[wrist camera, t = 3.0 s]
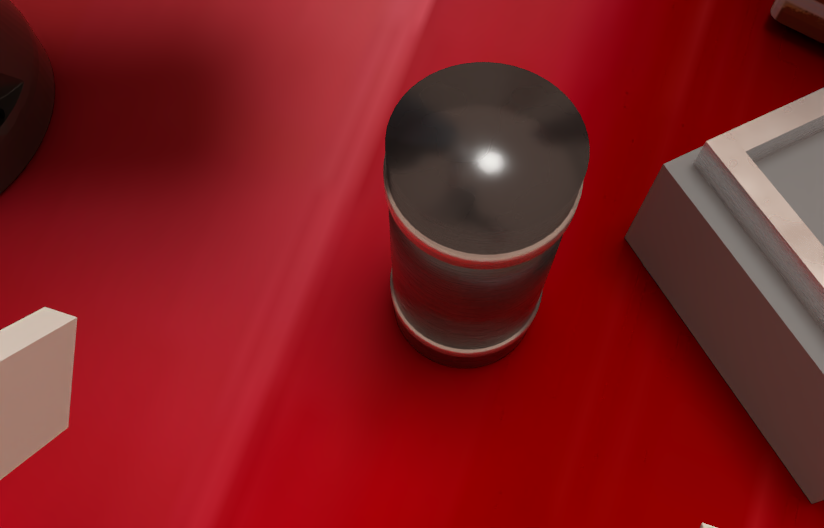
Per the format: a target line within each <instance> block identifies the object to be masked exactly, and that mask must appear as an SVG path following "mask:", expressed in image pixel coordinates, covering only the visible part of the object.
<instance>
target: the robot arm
mask: <svg viewBox="0 0 824 528" xmlns="http://www.w3.org/2000/svg"><path fill="white" fill-rule="evenodd" d="M54 96H55V84H54V76H53V71H52V67H51V64H50V61H49V58H48V56H47V54H46V52H45V50H44V48H43V46H42V45H41V43H40V42H39V40H38V38H37V37H36V35H35V34H34V32H33V30H32V29H31V27H30V26H29V24H28V23H27V21H26V19H25V18H24V17H23V15H22V14H21V13H20V11H19V10H18V9H17V8H16V7H15V6H14V5H13V4H12V3H11V1H10V0H0V194H1V193H2V192H3V191H4V190H5V189H6V188H7V187H8V186H9V185H10V184H11V183H12V182H13V181H14V180H15V179H16V178H17V176H18V175H19V174H20V173H21V172H22V171H23V169H24V168H25V167H26V165H27V164H28V163H29V161H30V160H31V158H32V157H33V155H34V154H35V152H36V151H37V149H38V147H39V145H40V143H41V142H42V140H43V137H44V135H45V133H46V130H47V128H48V125H49V122H50V119H51V115H52V111H53V105H54ZM76 326H77V317H75V316H72V315H68V314H65V313H62V312H59V311H56V310H53V309H50V308H47V307H44V308H42V309H40V310H38V311H36V312H34V313H32V314H30V315H28V316H26V317H24V318H23V319H21V320H19V321H17V322H15V323H13V324H11V325H9V326H7V327H5V328H3V329H1V330H0V480H1V479H2V478H3V477H5V476H6V475H7V474H9V473H10V472H11V471H12V470H14V469H15V468H16V467H18V466H19V465H20V464H22V463H23V462H24V461H25V460H27V459H28V458H29V457H31V456H32V455H33V454H34V453H36V452H37V451H38V450H40V449H41V448H42V447H44V446H45V445H46V444H47V443H49V442H50V441H51V440H53V439H54V438H55V437H56V436H58V435H59V434H60V433H62V432H63V431H64V430H66V429H67V428H68V422H69V410H70V398H71V386H72V374H73V362H74V350H75V338H76ZM700 528H717V527H714V526H711V525H708V524H705V523H702V524H701V526H700Z"/></svg>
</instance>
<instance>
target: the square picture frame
mask: <svg viewBox="0 0 824 528" xmlns="http://www.w3.org/2000/svg"><path fill="white" fill-rule="evenodd" d="M823 130H824V88H822V89H820V90H818V91H816V92H813V93H811V94H809V95H807V96H805V97H802V98H800V99H798V100H796V101H794V102H791V103H789V104H787V105H785V106H783V107H780V108H778V109H776V110H774V111H772V112H770V113H767V114H765V115H763V116H761V117H759V118H756V119H754V120H752V121H750V122H748V123H745V124H743V125H741V126H739V127H737V128H734V129H732V130H730V131H728V132H726V133H723V134H721V135H719V136H717V137H715V138H712V139H710V140H708V141H706V142H705V144H704V146H703V148H702V149H701V151H700V153H699V154H698V156H697V158H696V159H695V161H694V163H693V165H694V166H695V168H696V169H697V170H698V172H699V173H700V174H701V175H702V177H703V178H704V179H705V181H706V182H707V183H708V184H709V186H710V187H711V188H712V189H713V191H714V192H715V193H716V195H717V196H718V197H719V198H720V200H721V201H722V202H723V203H724V205H725V206H726V207H727V209H728V210H729V211H730V212H731V214H732V215H733V216H734V218H735V219H736V220H737V221H738V223H739V224H740V225H741V226H742V228H743V229H744V230H745V232H746V233H747V234H748V235H749V237H750V238H751V239H752V241H753V242H754V243H755V244H756V246H757V247H758V248H759V249H760V251H761V252H762V253H763V255H764V256H765V257H766V258H767V260H768V261H769V262H770V264H771V265H772V266H773V267H774V269H775V270H776V271H777V272H778V274H779V275H780V276H781V278H782V279H783V280H784V281H785V283H786V284H787V285H788V286H789V288H790V289H791V290H792V292H793V293H794V294H795V295H796V297H797V298H798V299H799V301H800V302H801V303H802V304H803V306H804V307H805V308H806V309H807V311H808V312H809V313H810V315H811V316H812V317H813V318H814V320H815V321H816V322H817V324H818V325H819V326H820V327H821V329H822V330H823V331H824V246H823V245H822V244H821V243H820V242H819V240H818V239H817V238H816V237H815V235H814V234H813V233H812V232H811V231H810V229H809V228H808V227H807V226H806V225H805V223H804V222H803V221H802V220H801V218H800V217H799V216H798V215H797V214H796V212H795V211H794V210H793V209H792V208H791V206H790V205H789V204H788V203H787V202H786V200H785V199H784V198H783V197H782V195H781V194H780V193H779V192H778V191H777V189H776V188H775V187H774V186H773V185H772V183H771V182H770V181H769V180H768V178H767V177H766V176H765V175H764V174H763V172H762V171H761V170H760V169H759V168H758V166H757V165H756V164H755V163H754V162H757V161H759V160H761V159H763V158H765V157H767V156H769V155H772V154H774V153H776V152H778V151H780V150H782V149H784V148H786V147H789V146H791V145H793V144H795V143H797V142H799V141H801V140H803V139H806V138H808V137H810V136H812V135H814V134H816V133H818V132H821V131H823Z"/></svg>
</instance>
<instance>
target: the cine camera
mask: <svg viewBox="0 0 824 528" xmlns="http://www.w3.org/2000/svg"><path fill="white" fill-rule="evenodd" d="M771 16H772V17H773V18H774V19H775V20H776V21H778V22H779V23H781V24H783V25H785V26H788V27H790V28H792V29H794V30H796V31H798V32H800V33H802V34H804V35H806V36H808V37H810V38H812V39H815V40H817V41H819V42H821V43H823V44H824V0H775V1H774V3H773V5H772V8H771Z"/></svg>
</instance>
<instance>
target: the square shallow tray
mask: <svg viewBox="0 0 824 528" xmlns="http://www.w3.org/2000/svg"><path fill="white" fill-rule="evenodd" d="M702 148H703V146H702V147H700V148H698V149H695V150H693V151H691V152H689V153H687V154H685V155H682V156H680V157H678V158H676V159H674V160H671V161H669V162H667V163H665V164H663V166H662V168H661V170H660V171H659V173H658V175H657V177H656V179H655V181H654V183H653V185H652V187H651V188H650V190H649V192H648V194H647V196H646V198H645V200H644V202H643V203H642V205H641V207H640V209H639V211H638V213H637V215H636V217H635V219H634V220H633V222H632V224H631V226H630V228H629V230H628V232H627V234H626V236H625V237H624V238H625V239H626V240H627V242H628V243H629V245H630V246H631V248H632V249H633V250H634V252H635V253H636V255H637V256H638V258H639V259H640V260H641V262H642V263H643V265H644V266H645V267H646V269H647V270H648V272H649V273H650V275H651V276H652V277H653V279H654V280H655V282H656V283H657V285H658V286H659V287H660V289H661V290H662V292H663V293H664V294H665V296H666V297H667V299H668V300H669V302H670V303H671V304H672V306H673V307H674V309H675V310H676V312H677V313H678V314H679V316H680V317H681V319H682V320H683V322H684V323H685V324H686V326H687V327H688V329H689V330H690V331H691V333H692V334H693V336H694V337H695V339H696V340H697V341H698V343H699V344H700V346H701V347H702V349H703V350H704V351H705V353H706V354H707V356H708V357H709V358H710V360H711V361H712V363H713V364H714V366H715V367H716V368H717V370H718V371H719V373H720V374H721V376H722V377H723V378H724V380H725V381H726V383H727V384H728V386H729V387H730V388H731V390H732V391H733V393H734V394H735V395H736V397H737V398H738V400H739V401H740V403H741V404H742V405H743V407H744V408H745V410H746V411H747V413H748V414H749V415H750V417H751V418H752V420H753V421H754V422H755V424H756V425H757V427H758V428H759V430H760V431H761V432H762V434H763V435H764V437H765V438H766V440H767V441H768V442H769V444H770V445H771V447H772V448H773V450H774V451H775V452H776V454H777V455H778V457H779V458H780V459H781V461H782V462H783V464H784V465H785V467H786V468H787V469H788V471H789V472H790V474H791V475H792V477H793V478H794V479H795V481H796V482H797V484H798V485H799V486H800V488H801V489H802V491H803V492H804V494H805V495H806V496H807V498H808V499H809V501H810V502H811V504H813V503H816V502H819V501H822V500H824V331H823V330H822V329H821V327H820V326H819V325H818V324H817V322H816V321H815V320H814V318H813V317H812V316H811V315H810V313H809V312H808V311H807V309H806V308H805V307H804V306H803V304H802V303H801V302H800V301H799V299H798V298H797V297H796V295H795V294H794V293H793V292H792V290H791V289H790V288H789V286H788V285H787V284H786V283H785V281H784V280H783V279H782V278H781V276H780V275H779V274H778V272H777V271H776V270H775V269H774V267H773V266H772V265H771V264H770V262H769V261H768V260H767V258H766V257H765V256H764V255H763V253H762V252H761V251H760V249H759V248H758V247H757V246H756V244H755V243H754V242H753V241H752V239H751V238H750V237H749V235H748V234H747V233H746V232H745V230H744V229H743V228H742V226H741V225H740V224H739V223H738V221H737V220H736V219H735V218H734V216H733V215H732V214H731V212H730V211H729V210H728V209H727V207H726V206H725V205H724V203H723V202H722V201H721V200H720V198H719V197H718V196H717V195H716V193H715V192H714V191H713V189H712V188H711V187H710V186H709V184H708V183H707V182H706V181H705V179H704V178H703V177H702V175H701V174H700V173H699V172H698V170H697V169H696V168H695V166H694V165H693V163H694V161H695V159H696V158H697V156H698V154H699V153H700V151H701V149H702ZM754 163H755V164H756V165H757V166H758V168H759V169H760V170H761V171H762V172H763V174H764V175H765V176H766V177H767V178H768V180H769V181H770V182H771V183H772V185H773V186H774V187H775V188H776V189H777V191H778V192H779V193H780V194H781V195H782V197H783V198H784V199H785V200H786V202H787V203H788V204H789V205H790V206H791V208H792V209H793V210H794V211H795V212H796V214H797V215H798V216H799V217H800V218H801V220H802V221H803V222H804V223H805V225H806V226H807V227H808V228H809V229H810V231H811V232H812V233H813V234H814V235H815V237H816V238H817V239H818V240H819V242H820V243H821V244H822V245H823V246H824V130H823V131H821V132H818V133H816V134H814V135H812V136H810V137H808V138H806V139H803V140H801V141H799V142H797V143H795V144H793V145H791V146H789V147H786V148H784V149H782V150H780V151H778V152H776V153H774V154H772V155H769V156H767V157H765V158H763V159H761V160H759V161H757V162H754Z"/></svg>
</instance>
